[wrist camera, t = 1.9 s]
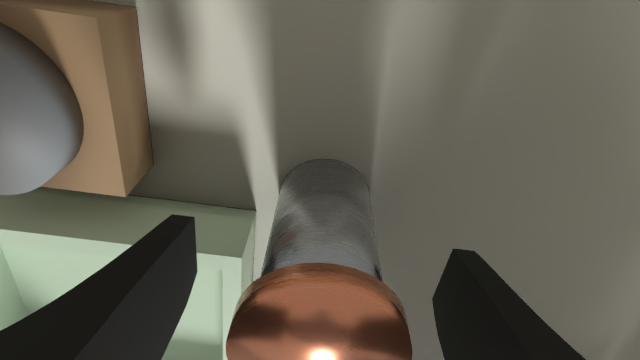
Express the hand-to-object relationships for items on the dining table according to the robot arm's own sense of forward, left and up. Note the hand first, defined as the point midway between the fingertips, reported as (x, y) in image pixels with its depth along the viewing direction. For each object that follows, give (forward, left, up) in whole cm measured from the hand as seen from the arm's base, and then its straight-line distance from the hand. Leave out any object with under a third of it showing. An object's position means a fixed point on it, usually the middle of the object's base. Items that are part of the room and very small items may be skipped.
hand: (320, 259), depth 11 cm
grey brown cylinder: (0, 0, -3) cm, 3 cm away
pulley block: (+9, -3, -3) cm, 10 cm away
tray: (+7, +6, -3) cm, 10 cm away
